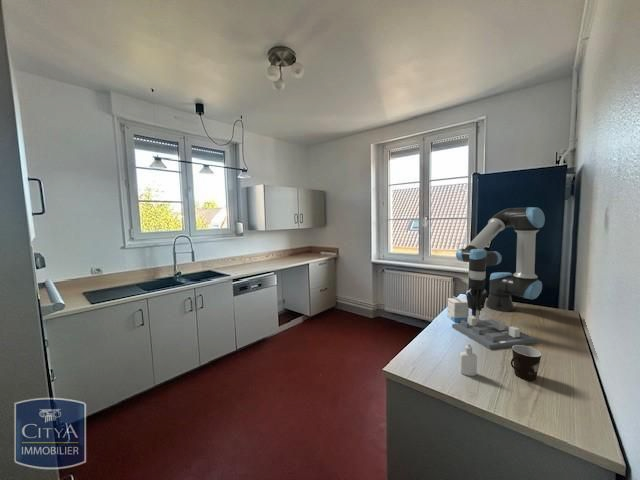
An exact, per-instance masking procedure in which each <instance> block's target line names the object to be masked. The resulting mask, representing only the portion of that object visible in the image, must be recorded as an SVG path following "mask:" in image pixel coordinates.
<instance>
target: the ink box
mask: <svg viewBox="0 0 640 480" xmlns="http://www.w3.org/2000/svg"><path fill="white" fill-rule="evenodd" d="M469 310H470V308H468V302H467V299H464V298H462V297H456V296H454V295H452V297H451V298H450V297H449V298H448V297H447V318H448V319H449V320H450V321H452V322H453V323H461V320H463V321H465V322H467V320H468V317H469V316H470V315H469V313H470V311H469Z"/></svg>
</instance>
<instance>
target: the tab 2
mask: <svg viewBox="0 0 640 480" xmlns="http://www.w3.org/2000/svg"><path fill="white" fill-rule="evenodd" d="M505 325H506V322H505V321H503V320H501V319H498V320H496V319H495V327H494V328H495V329H497V330H499V331H500V330H505Z"/></svg>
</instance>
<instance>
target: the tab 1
mask: <svg viewBox="0 0 640 480" xmlns="http://www.w3.org/2000/svg"><path fill="white" fill-rule="evenodd" d="M467 323H469V325H471V326H476V325H477V318H475V317H473V315H469V317H468V320H467Z"/></svg>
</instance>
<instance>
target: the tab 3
mask: <svg viewBox="0 0 640 480" xmlns="http://www.w3.org/2000/svg"><path fill="white" fill-rule="evenodd" d="M520 332H521V328H519V327H516V326H509V335H510V336H512V337H514V338H516V337H520Z"/></svg>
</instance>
